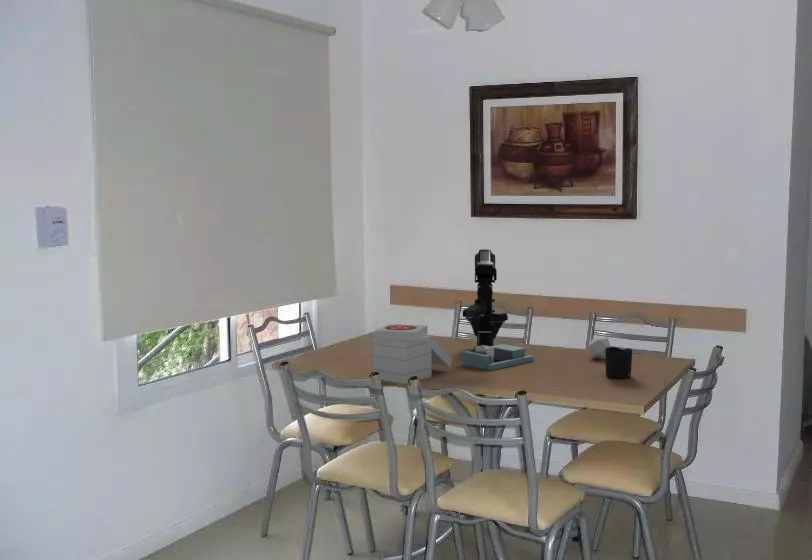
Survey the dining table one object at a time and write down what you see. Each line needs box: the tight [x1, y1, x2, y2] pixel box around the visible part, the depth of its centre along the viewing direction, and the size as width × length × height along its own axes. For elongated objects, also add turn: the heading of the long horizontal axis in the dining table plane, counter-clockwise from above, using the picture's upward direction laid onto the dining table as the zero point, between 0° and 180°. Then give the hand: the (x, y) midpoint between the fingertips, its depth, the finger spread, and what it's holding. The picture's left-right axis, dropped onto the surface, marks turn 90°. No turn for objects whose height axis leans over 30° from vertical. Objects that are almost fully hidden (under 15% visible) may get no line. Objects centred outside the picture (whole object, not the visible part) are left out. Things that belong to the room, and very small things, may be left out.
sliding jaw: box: [490, 343, 526, 362], centre depth 351 cm, size 12×8×5 cm, turn 42°
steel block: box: [474, 345, 495, 364], centre depth 343 cm, size 6×4×7 cm, turn 42°
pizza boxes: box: [372, 323, 454, 385], centre depth 327 cm, size 19×30×18 cm, turn 141°
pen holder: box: [604, 346, 633, 380], centre depth 321 cm, size 9×9×10 cm
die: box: [587, 336, 612, 360], centre depth 353 cm, size 8×9×10 cm
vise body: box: [462, 350, 534, 371], centre depth 346 cm, size 14×24×5 cm, turn 132°
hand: (484, 337), depth 342 cm, fingers open, 9 cm apart
